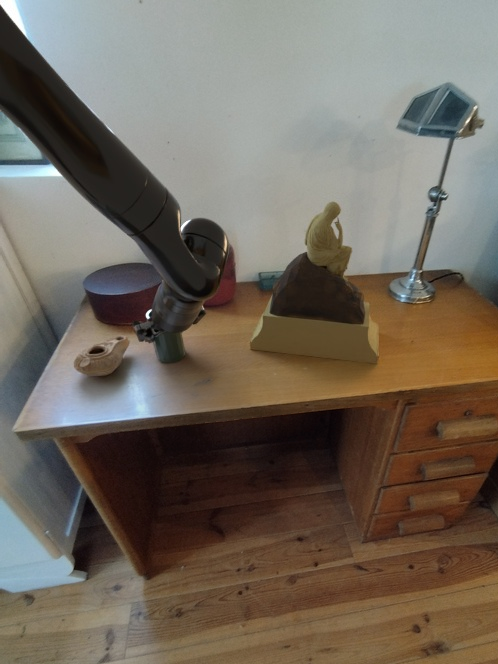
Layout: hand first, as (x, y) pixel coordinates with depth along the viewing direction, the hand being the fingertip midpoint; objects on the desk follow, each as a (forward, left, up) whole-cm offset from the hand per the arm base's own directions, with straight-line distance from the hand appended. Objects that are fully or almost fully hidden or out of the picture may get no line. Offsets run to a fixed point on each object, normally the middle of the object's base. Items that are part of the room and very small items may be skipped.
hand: (163, 333), depth 80 cm
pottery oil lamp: (-12, -2, -5) cm, 13 cm away
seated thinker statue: (+32, -8, -5) cm, 34 cm away
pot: (0, -2, -5) cm, 5 cm away
